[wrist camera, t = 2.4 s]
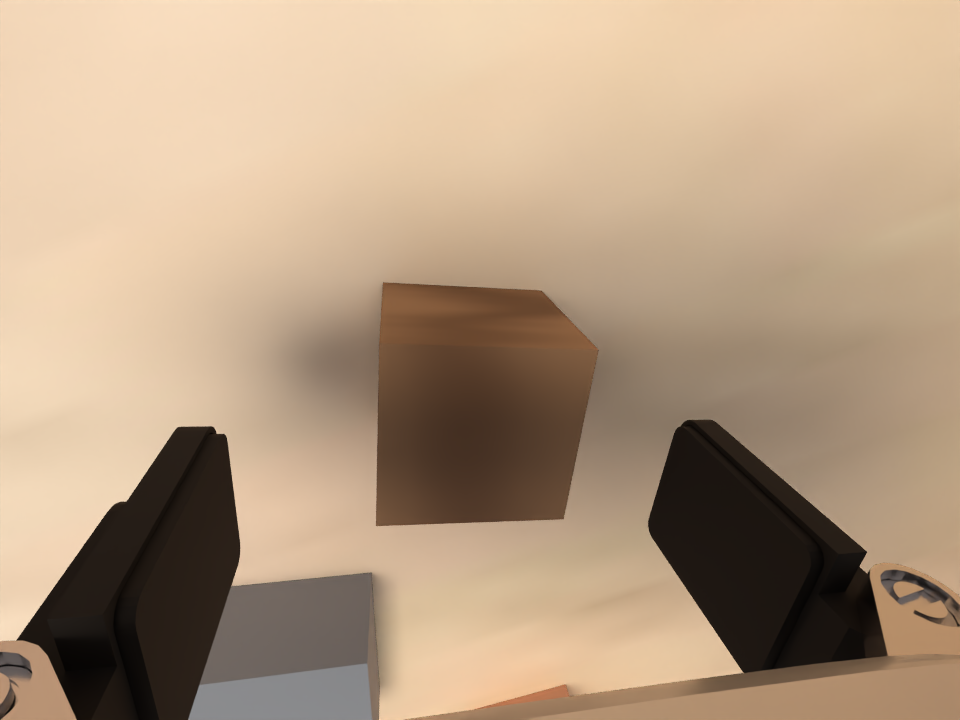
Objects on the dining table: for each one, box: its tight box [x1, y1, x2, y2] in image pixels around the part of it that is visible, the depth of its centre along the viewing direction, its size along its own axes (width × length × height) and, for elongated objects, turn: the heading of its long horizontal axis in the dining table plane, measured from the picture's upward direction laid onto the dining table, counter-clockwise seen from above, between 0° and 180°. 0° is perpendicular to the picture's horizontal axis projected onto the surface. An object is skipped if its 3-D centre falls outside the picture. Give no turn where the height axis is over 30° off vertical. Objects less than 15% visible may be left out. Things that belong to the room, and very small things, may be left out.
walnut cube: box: [376, 283, 598, 526], centre depth 14 cm, size 5×5×5 cm
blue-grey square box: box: [188, 573, 380, 720], centre depth 19 cm, size 7×7×4 cm
